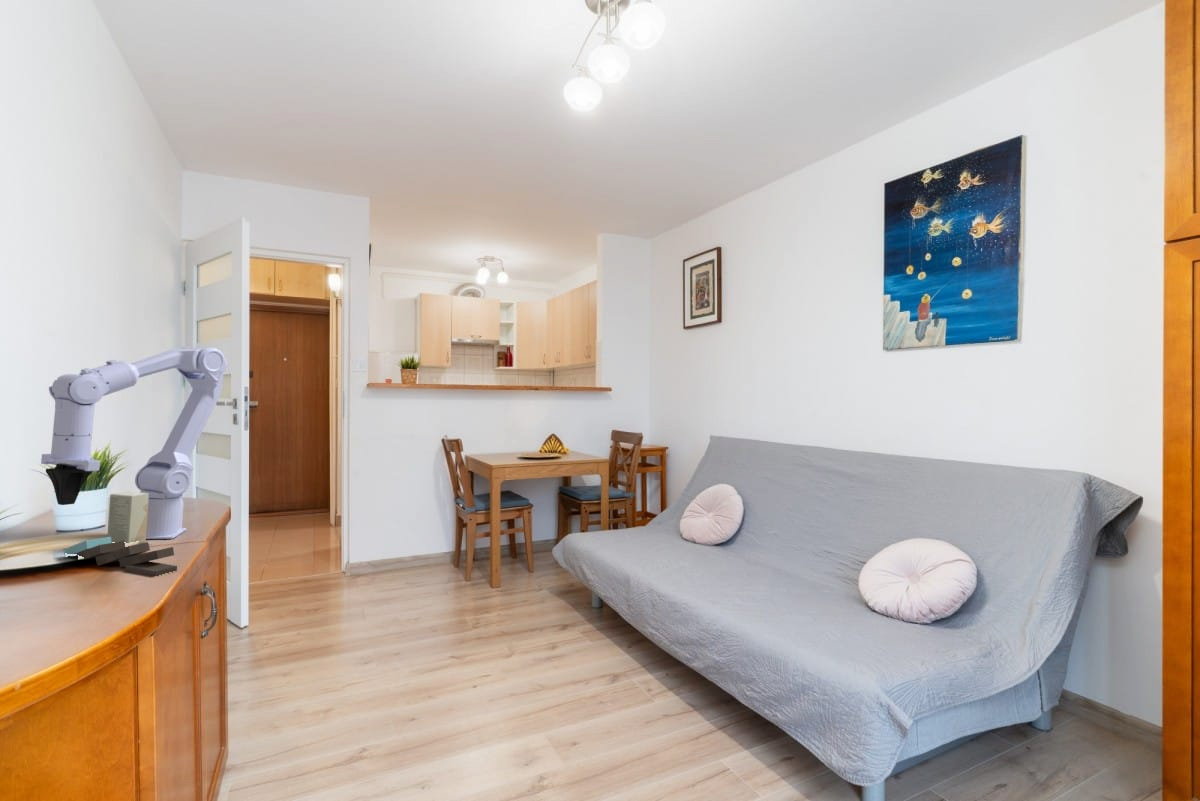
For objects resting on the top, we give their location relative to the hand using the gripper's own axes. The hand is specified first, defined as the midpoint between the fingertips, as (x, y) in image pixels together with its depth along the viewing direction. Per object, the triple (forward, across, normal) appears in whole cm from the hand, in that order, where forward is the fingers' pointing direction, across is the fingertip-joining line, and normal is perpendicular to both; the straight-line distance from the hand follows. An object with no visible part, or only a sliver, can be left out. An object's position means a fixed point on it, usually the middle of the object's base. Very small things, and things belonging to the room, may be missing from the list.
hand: (66, 504), depth 112 cm
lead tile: (+9, +5, 0) cm, 10 cm away
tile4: (+8, +18, +1) cm, 20 cm away
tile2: (+9, +9, 0) cm, 12 cm away
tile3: (+9, +14, 0) cm, 16 cm away
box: (+10, +4, +9) cm, 14 cm away
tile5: (+9, +21, 0) cm, 23 cm away
